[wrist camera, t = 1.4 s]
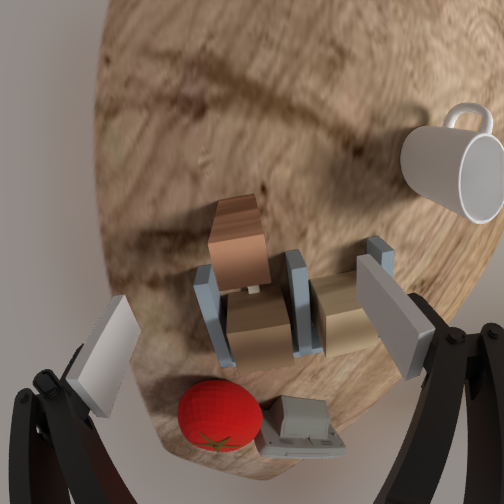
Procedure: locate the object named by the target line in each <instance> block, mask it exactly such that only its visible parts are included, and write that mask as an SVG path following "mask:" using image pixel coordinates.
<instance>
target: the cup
mask: <svg viewBox="0 0 504 504" xmlns="http://www.w3.org/2000/svg"><path fill="white" fill-rule="evenodd" d="M465 112H473V113H477V114H479V115H481V116H482V123H481V127H480V129H479V132H477V131H471V130H464V129H456V128H454V124H455V121H456V119H457V118H458V116H459V115H461V114H462V113H465ZM492 128H493V119H492V115H491V113H490V112H489V111H488V109H486V108H485V107H483V106H482V105H479V104H476V103H460V104H458V105H456V106H454V107H453V108H452V109H451V110H450V111H449V112H448V114H447V116H446V118H445V120H444V123H443V126H442V127H439V126H422V127H418V128H416V129H415V130H413V131H412V132H411V133H410V134H409V135H408V136H407V137H406V139H405V141H404V143H403V146H402V149H401V155H400V164H401V170H402V174H403V176H404V179H405V181H406V182H407V184H408V185H409V187H410V188H411V189H412V190H414V191H415V192H416V193H418V194H419V195H421V196H423V197H425V198H427V199H429V200H432V201H434V202H436V203H438V204H440V205H442V206H443V207H445V208H447V209H449V210H451V211H453V212H455V213H457V214H459V215H461V216H462V217H464V218H466V219H468V220H470V221H471V222H473V223H476V224H484V223H487V222H489V221H490V220H492V219H493V218H494V217H495V216H496V215H497V214H498V212H499V211H500V209H501V207H502V206H503V203H504V148H503V146H502V145H501V143H500V142H499V141H498V139H497V138H495V137H494V136H493V135H491V132H492Z"/></svg>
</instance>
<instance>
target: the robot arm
mask: <svg viewBox="0 0 504 504" xmlns="http://www.w3.org/2000/svg"><path fill="white" fill-rule="evenodd" d="M356 299H357V301H358V302H359V304H360V305H361V307H362V308H363V310H364V312H365V313H366V315H367V317H368V318H369V320H370V321H371V323H372V325H373V326H374V328H375V330H376V331H377V333H378V335H379V336H380V338H381V340H382V341H383V343H384V345H385V346H386V348H387V350H388V352H389V353H390V355H391V357H392V358H393V360H394V362H395V364H396V365H397V367H398V369H399V371H400V373H401V374H402V376H403V378H404V380H405V381H406V380H409V379H411V378H414V377H416V376H419V375H420V373H421V370H422V368H423V367H424V368H425V370H426V372H427V374H426V376H425V379H424V381H423V383H422V386H421V388H422V390H421V393H420V397H419V401H418V403H417V406H416V410H415V412H414V415H413V418H412V421H411V424H410V426H409V429H408V431H407V434H406V437H405V439H404V442H403V444H402V447H401V449H400V451H399V453H398V456H397V458H396V460H395V463H394V464H393V467H392V469H391V471H390V473H389V475H388V477H387V479H386V481H385V483H384V485H383V486H382V488H381V490H380V492H379V494H378V496H377V497H376V499H375V501H374V503H373V504H430V503H431V500H432V498H433V495H434V493H435V490H436V488H437V485H438V483H439V480H440V478H441V475H442V472H443V469H444V466H445V463H446V460H447V457H448V454H449V450H450V447H451V443H452V440H453V436H454V432H455V428H456V424H457V419H458V415H459V410H460V405H461V399H462V394H463V387H464V385H465V395H466V406H467V425H468V458H467V476H466V487H465V495H464V503H463V504H504V329H503V328H502V327H501V326H500V325H498V324H496V323H487V324H485V325H484V326H483V328H482V330H481V332H480V333H477V334H468V335H467V334H466V333H465V332H464V331H462V330H461V329H459V328H456V327H449V326H448V325H447V324H446V323H445V322H444V320H443V319H442V318H441V317H440V316H439V315H438V314H437V312H436V311H435V310H433V308H432V307H431V306H430V305H429V304H428V302H427V301H426V300H425V299H424V298H423V297H421V296H420V295H418V294H416V293H411V294H406V293H405V292H404V291H403V290H402V288H401V287H400V286H399V285H398V284H397V283H396V282H395V281H394V280H393V278H392V277H391V276H390V275H389V274H388V273H387V272H386V271H385V270H384V269H383V268H382V267H381V265H380V264H379V263H378V262H377V261H376V260H375V259H374V258H373V257H372V256H371V255H370V254H365V255H360V256H357V281H356ZM140 333H141V330H140V328H139V326H138V324H137V322H136V319H135V317H134V315H133V313H132V311H131V308H130V306H129V304H128V302H127V299H126V297H125V295H117V296H113V298H112V299H111V301H110V303H109V304H108V306H107V307H106V309H105V310H104V312H103V314H102V315H101V317H100V318H99V320H98V322H97V323H96V325H95V327H94V328H93V330H92V332H91V334H90V335H89V337H88V339H87V340H86V342H85V344H82V345H81V346H80V347H79V348H78V349H77V350H76V352H75V353H74V355H73V358H72V359H71V360H70V362H69V363H70V364H68V366H67V368H66V369H65V371H64V373H63V375H62V377H61V379H60V381H59V379H58V378H57V377H56V375H55V374H54V373H53V371H52V370H50V369H45V370H42V371H41V372H39V373H38V374H37V375H36V376H35V378H34V380H33V386H34V387H35V388H36V389H37V390H38V392H39V393H40V394H38V395H35V394H34V393H33V392H32V390H31V389H28V388H24V389H22V390H21V391H19V392H18V394H17V395H16V398H15V401H14V408H13V415H12V423H11V433H10V445H9V495H10V504H71V501H70V496H69V490H70V493H71V495H72V497H73V500H74V502H75V504H137V502H136V501H135V499H134V498H133V496H132V495H131V493H130V492H129V490H128V488H127V487H126V485H125V484H124V482H123V480H122V478H121V477H120V475H119V473H118V471H117V470H116V468H115V466H114V464H113V462H112V460H111V459H110V457H109V455H108V453H107V451H106V449H105V447H104V445H103V443H102V441H101V439H100V437H99V434H98V432H97V430H96V428H95V426H94V423H93V421H92V419H91V417H90V416H89V415H88V414H89V411H90V410H91V411H92V412H93V413H94V414H95V415H96V416H97V417H103V418H109V417H110V414H111V411H112V408H113V405H114V402H115V399H116V396H117V394H118V391H119V388H120V385H121V382H122V380H123V377H124V374H125V372H126V369H127V366H128V364H129V361H130V358H131V356H132V353H133V351H134V348H135V346H136V343H137V341H138V338H139V336H140ZM36 427H37V428H38V429H39V433H37V429H36ZM68 488H69V490H68Z"/></svg>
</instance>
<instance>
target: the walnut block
mask: <svg viewBox="0 0 504 504" xmlns="http://www.w3.org/2000/svg"><path fill="white" fill-rule="evenodd" d="M208 247H209V251H210V255H211V259H212V263H213V267H214V271H215V275H216V279H217V283H218V286H219V290H220V291H224V290H230V289H237V288H243V287H248V290H246V291H240V292H234V293H228V307H227V329H226V334H227V338H228V341H229V344H230V348H231V351H232V354H233V357H234V361H235V364H236V367H237V370H238V373H239V374H240V373H248V372H256V371H263V370H269V369H275V368H282V367H287V366H293V365H294V356H293V347H292V337H291V328H290V322H289V318H288V314H287V310H286V306H285V302H284V298H283V294H282V290H281V286H280V285H276V286H271V287H265V288H259V285H261V284H267V283H271V277H270V270H269V264H268V257H267V251H266V244H265V238H264V233H263V228H262V224H261V220H260V216H259V211H258V207H257V203H256V199H255V195H254V194H251V195H245V196H239V197H234V198H228V199H223V200H219V203H218V206H217V210H216V214H215V217H214V221H213V225H212V229H211V233H210V237H209V240H208Z"/></svg>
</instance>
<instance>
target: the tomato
mask: <svg viewBox="0 0 504 504" xmlns="http://www.w3.org/2000/svg"><path fill="white" fill-rule="evenodd" d="M262 420H263V416H262V411H261V408H260V406H259V404H258V402H257V401H256V399H255V398H254V397H253V396H252V395H251V394H250V393H249V392H248V391H247V390H245V389H244V388H243V387H241V386H240V385H238V384H235V383H233V382H229V381H224V380H209V381H203V382H200V383H198V384H196V385H194V386H192V387H191V388H190V389H188V390H187V391H186V392H185V393H184V394H183V396H182V397H181V399H180V402H179V405H178V423H179V426H180V429H181V431H182V433H183V435H184V436H185V438H186V439H187V440H188V441H189V442H191V443H192V444H194V445H196V446H197V447H200V448H202V449H206V450H211V451H217V452H228V451H234V450H237V449H239V448H241V447H243V446H245V445H247V444H248V443H250V442H251V441H252V440H253V439H254V438H255V436H256V435H257V434H258V432H259V430H260V427H261V425H262Z"/></svg>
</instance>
